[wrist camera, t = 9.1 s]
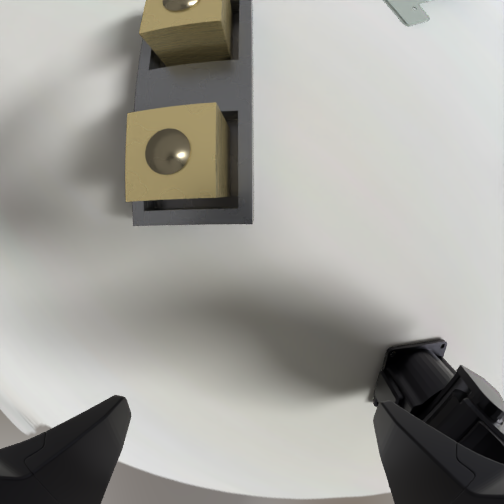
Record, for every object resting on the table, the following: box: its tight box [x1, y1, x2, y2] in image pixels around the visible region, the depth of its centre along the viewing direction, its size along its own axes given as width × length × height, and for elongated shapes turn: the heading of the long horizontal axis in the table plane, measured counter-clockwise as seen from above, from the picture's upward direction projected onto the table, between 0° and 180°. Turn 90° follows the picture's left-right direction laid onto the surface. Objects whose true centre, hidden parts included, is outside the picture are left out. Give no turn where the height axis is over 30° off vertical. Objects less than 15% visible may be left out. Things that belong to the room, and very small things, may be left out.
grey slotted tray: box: [132, 0, 254, 226], centre depth 16 cm, size 8×17×2 cm, turn 0°
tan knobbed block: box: [139, 0, 234, 67], centre depth 13 cm, size 4×4×6 cm
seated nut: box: [125, 102, 230, 202], centre depth 15 cm, size 4×4×6 cm
